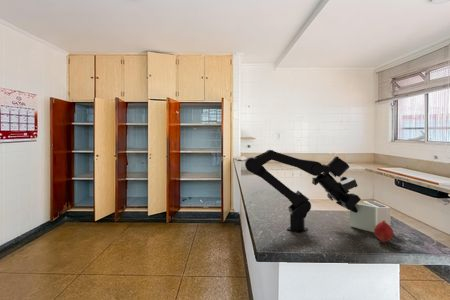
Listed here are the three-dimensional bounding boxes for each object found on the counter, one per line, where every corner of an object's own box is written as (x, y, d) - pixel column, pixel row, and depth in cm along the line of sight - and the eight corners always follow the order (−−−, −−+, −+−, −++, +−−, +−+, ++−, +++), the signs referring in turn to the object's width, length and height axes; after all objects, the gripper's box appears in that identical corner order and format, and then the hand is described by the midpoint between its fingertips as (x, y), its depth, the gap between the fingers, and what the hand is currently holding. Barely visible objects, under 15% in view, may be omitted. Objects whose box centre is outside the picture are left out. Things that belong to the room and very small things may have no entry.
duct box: (377, 233, 104) (377, 207, 104) (363, 224, 115) (363, 200, 115) (390, 232, 104) (390, 206, 104) (374, 223, 115) (374, 200, 115)
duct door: (374, 232, 104) (374, 207, 104) (350, 226, 112) (350, 202, 112) (376, 232, 104) (376, 206, 104) (351, 225, 113) (351, 202, 112)
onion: (370, 239, 98) (370, 218, 98) (385, 238, 98) (385, 217, 98) (381, 245, 92) (381, 222, 92) (397, 244, 92) (397, 222, 92)
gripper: (355, 174, 99) (384, 203, 100) (334, 168, 118) (359, 193, 118) (334, 194, 99) (362, 224, 100) (316, 186, 118) (340, 210, 118)
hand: (356, 211), depth 109 cm, fingers closed
